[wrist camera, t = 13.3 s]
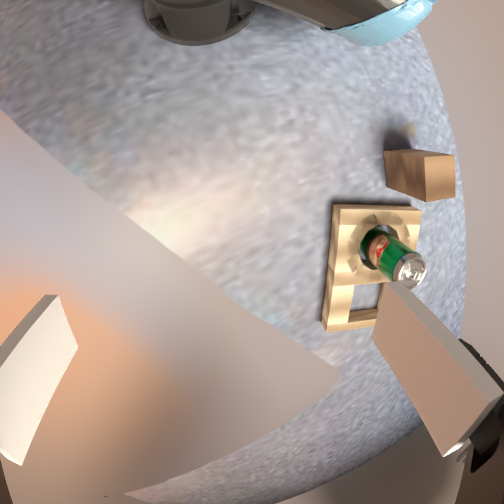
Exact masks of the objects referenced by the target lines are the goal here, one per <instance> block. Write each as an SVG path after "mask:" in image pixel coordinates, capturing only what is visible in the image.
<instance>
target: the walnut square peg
mask: <svg viewBox="0 0 504 504" xmlns="http://www.w3.org/2000/svg"><path fill="white" fill-rule="evenodd" d="M383 152H384V162H385V173H386V186H387V187H388V188H391V189H393V190H396V191H399V192H401V193H404V194H407V195H409V196H412V197H414V198H417V199H420V200H422V201H424V202H430V201H435V200H441V199H447V198H453V197H455V160H454V155H450V154H444V153H438V152H431V151H424V150H417V149H402V150H389V151H383Z"/></svg>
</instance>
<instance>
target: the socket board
mask: <svg viewBox="0 0 504 504" xmlns="http://www.w3.org/2000/svg"><path fill="white" fill-rule="evenodd" d="M421 213H422V211H421V210H418V209H416V208H414V207H412V206H394V205H357V204H333V213H332V227H331V239H330V250H329V261H328V270H327V279H326V288H325V296H324V304H323V311H322V318H321V323H322V325H323V327H324V329H325V331H326V333H327V332H335V331H343V330H350V329H357V328H364V327H370V326H375V322H376V319H377V315H378V311H379V306H380V302H381V298H382V293H383V289H384V284H385V283H387V282H391V281H390V280H389V279H388V278H387V277H386V276H385V275H384V274H382V273H381V272H380V271H379V270H378V269H377V268H376V267H375V266H374V265H373V264H372V263H371V262H370V261H369V262H363V261H361V259H360V256H359V250H360V242H361V241H362V239H363V238H364V236H365V234H366V233H367V231H369V230H370V229H372V228H374V227H375V226H377V225H387V226H388V229H389V232H390V234H391V235H392V236H394V237H395V238H397V239H398V240H400V241H401V242H403V243H404V244H406V245H407V246H409V247H410V248H412V249H413V250H414V251H415V250H416V245H417V239H418V233H419V227H420V220H421ZM380 282H382V286H381V290H380V295H379V300H378V304H377V308H375V309H368V310H360V311H352V312H350V307H351V301H352V296H353V290H354V285H358V284H369V283H380Z"/></svg>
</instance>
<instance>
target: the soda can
mask: <svg viewBox="0 0 504 504" xmlns="http://www.w3.org/2000/svg"><path fill="white" fill-rule="evenodd" d="M360 252H361V254H362V255H363V256H365V257H366V258H367V259H368V260H369V261H370V262H371V263H372V264H373V265H374V266H375V267H376V268H377V269H378V270H379V271H380V272H381V273H382V274H384V275H385V276H386V277H387V278H388V279H389V280H390V281H391V282H396V281H400V282H401V283H403V284H404V285H405V286H406V287H407V288H408V289H409V290H411V289H413V288H415V287H416V286H418V285H419V284H420V282H421V281H422V279H423V278H424V275H425V271H426V266H425V263H424V261H423V259H422V257H421V255H420V254H419V253H417V252H416V251H414V250H413V249H412V248H410V247H409V246H407V245H406V244H404V243H403V242H401V241H400V240H398V239H397V238H395V237H394V236H392V235H391V234H389V233H388V232H386V231H385V230H383V229H382V228H380V227H377V226H375V227H374V228H372V229H370V230H369V231H367V233H366V234H365V236H364V238H363V239H362V241H361V242H360Z"/></svg>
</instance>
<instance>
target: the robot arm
mask: <svg viewBox="0 0 504 504" xmlns="http://www.w3.org/2000/svg"><path fill="white" fill-rule="evenodd" d="M257 2H258V3H261V4H264V5H267V6H270V7H273V8H276V9H278V10H281V11H284V12H286V13H289V14H291V15H294V16H296V17H298V18H301V19H303V20H305V21H308V22H310V23H312V24H314V25H316V26H318V27H320V28H321V30H323V31H325V32H329V33H334V34H337V35H339V36H341V37H343V38H345V39H347V40H349V41H351V42H353V43H355V44H358V45H361V46H379V45H383V44H386V43H389V42H391V41H394V40H396V39H398V38H399V37H401V36H403V35H404V34H406V33H407V32H409V31H410V30H412V29H413V28H414V27H415V26H417V25H418V24H419V23H420V22H421V21H422V20H423V19H424V18H425V17H426V16H427V15H428V14H429V13H430V11H431V10H432V6H431V5H432V4H434V3H436V2H437V0H145V1H144V12H145V16H146V19H147V21H148V23H149V24H150V25H151V27H152V28H153V30H154V31H155V32H156V33H157V34H158V35H159V36H161V37H162V38H164V39H166V40H168V41H170V42H173V43H176V44H181V45H190V46H198V45H207V44H212V43H216V42H219V41H222V40H225V39H227V38H229V37H231V36H233V35H235V34H236V33H238V32H239V31H240V30H242V29H243V28H244V27H245V26H246V25H247V24H248V23H249V22H250V20H251V19H252V17H253V15H254V13H255V10H256V7H257ZM372 339H373V341H374V342H375V344H376V345H377V347H378V348H379V350H380V351H381V353H382V355H383V356H384V358H385V359H386V361H387V362H388V364H389V366H390V367H391V369H392V370H393V372H394V374H395V375H396V377H397V378H398V380H399V382H400V383H401V385H402V387H403V388H404V390H405V392H406V393H407V395H408V397H409V398H410V400H411V402H412V403H413V405H414V407H415V408H416V410H417V412H418V414H419V415H420V417H421V419H422V421H423V422H424V424H425V426H426V428H427V429H428V431H429V433H430V435H431V436H432V438H433V440H434V442H435V444H436V446H437V447H438V449H439V451H440V453H441V455H442V457H444V456H446V455H448V454H450V453H451V452H453V451H455V450H457V449H459V448H460V447H461V446H462V445H463V444H464V443H465V441H466V440H467V439H468V438H469V439H470V440H471V444H470V445H469V446H468V447H467V448H466V449H465V450H464V451H463V452H462V453H461V454H460V455H459V456H458V458H457V460H456V462H459V461H460V460H461V459H462V458H463V457H464V456H465V455H466V454H467V456H466V458H465V459H464V460H463V461H462V462H463V463H465V466H464V471H463V475H462V480H461V484H460V488H459V491H458V495H457V499H456V502H455V504H504V382H503V381H502V380H501V378H500V377H499V376H498V375H497V374H496V373H495V371H494V370H493V369H492V368H491V367H490V366H489V364H486V361H485V360H484V359H483V358H482V357H480V354H479V353H478V352H477V351H476V350H475V349H474V348H473V347H472V346H471V345H470V344H468V343H467V342H465V341H463V340H462V339H457V338H456V337H455V335H454V334H453V333H452V332H451V331H450V330H449V329H448V328H447V327H446V326H445V325H444V324H443V323H442V322H441V321H440V320H439V319H438V318H437V317H436V316H435V315H434V314H433V313H432V312H431V311H430V310H429V309H428V308H427V307H426V306H425V305H424V304H423V303H422V302H421V301H420V300H419V299H418V298H417V297H416V296H415V295H414V294H413V293H412V292H411V291H410V290H409V289H408V288H407V287H406V286H405V285H404V284H403V283H401V282H400V281H396V282H387V283H385V284H384V289H383V293H382V298H381V302H380V306H379V311H378V315H377V319H376V322H375V326H374V330H373V334H372ZM77 349H78V346H77V343H76V341H75V339H74V336H73V334H72V331H71V329H70V326H69V323H68V321H67V318H66V315H65V313H64V310H63V307H62V304H61V301H60V298H59V295H45V296H44V297H43V298H42V299H41V300H40V301H39V302H38V303H37V304H36V305H35V306H34V307H33V309H32V310H31V311H30V312H29V313H28V314H27V315H26V316H25V318H24V319H23V320H22V321H21V322H20V323H19V325H18V326H17V327H16V328H15V329H14V330H13V332H12V333H11V334H10V335H9V336H8V338H7V339H6V340H5V341H4V343H3V344H2V345H1V346H0V452H1V453H2V454H3V455H4V456H5V457H6V458H7V459H9V460H11V461H13V462H15V463H17V464H19V465H21V466H22V464H23V461H24V458H25V456H26V453H27V451H28V448H29V446H30V443H31V441H32V438H33V436H34V434H35V431H36V429H37V427H38V425H39V423H40V420H41V418H42V416H43V414H44V412H45V410H46V408H47V405H48V404H49V401H50V399H51V397H52V395H53V393H54V391H55V389H56V388H57V385H58V384H59V382H60V380H61V378H62V376H63V374H64V372H65V370H66V369H67V367H68V365H69V363H70V361H71V360H72V358H73V356H74V354H75V352H76V351H77ZM0 504H13V503H12V500H11V497H10V494H9V491H8V487H7V484H6V480H5V477H4V473H3V469H2V465H1V461H0Z"/></svg>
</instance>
